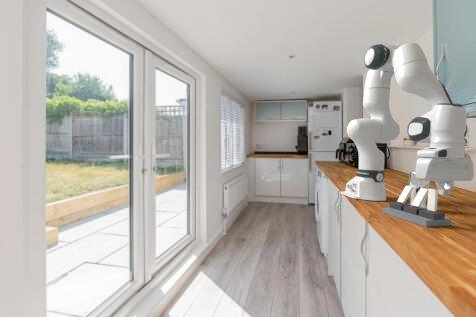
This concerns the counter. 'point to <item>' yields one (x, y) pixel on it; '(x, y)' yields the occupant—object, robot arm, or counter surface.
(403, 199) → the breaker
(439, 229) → the counter surface
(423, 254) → the counter surface
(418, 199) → the breaker
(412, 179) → the beer glass
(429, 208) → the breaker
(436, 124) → the robot arm
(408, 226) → the counter surface
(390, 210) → the panel
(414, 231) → the counter surface
